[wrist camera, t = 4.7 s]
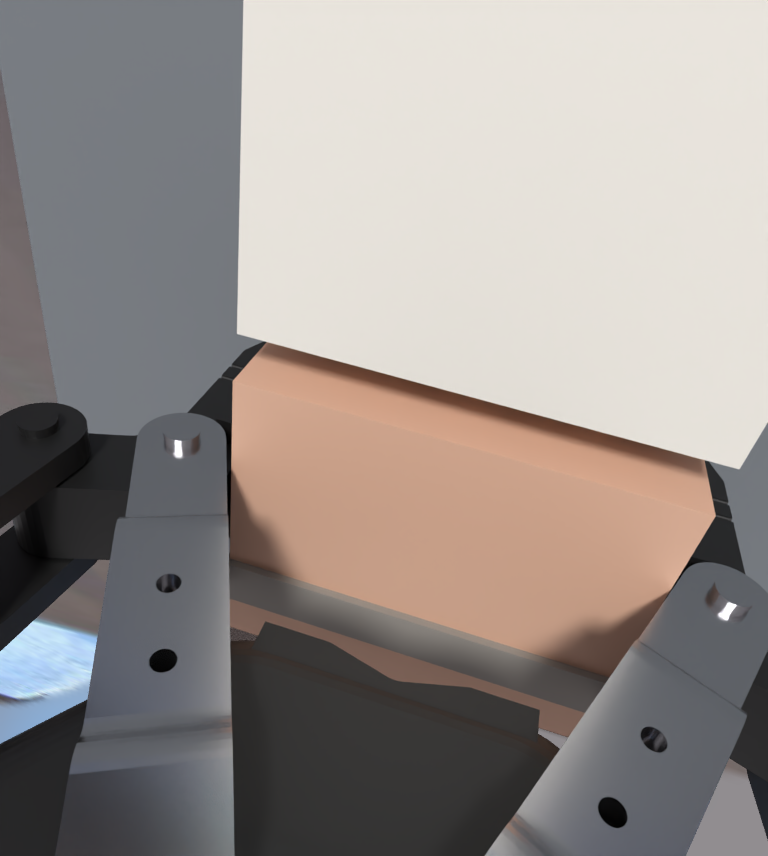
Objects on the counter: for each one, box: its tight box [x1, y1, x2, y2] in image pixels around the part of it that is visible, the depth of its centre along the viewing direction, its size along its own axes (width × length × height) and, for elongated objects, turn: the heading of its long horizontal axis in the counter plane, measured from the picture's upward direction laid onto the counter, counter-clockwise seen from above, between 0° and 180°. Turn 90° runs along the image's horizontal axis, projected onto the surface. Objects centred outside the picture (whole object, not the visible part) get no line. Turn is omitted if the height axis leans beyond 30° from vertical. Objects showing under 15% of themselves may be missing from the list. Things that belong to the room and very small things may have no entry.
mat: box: [0, 0, 768, 593], centre depth 11 cm, size 20×26×1 cm
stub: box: [229, 342, 716, 737], centre depth 12 cm, size 6×5×5 cm
